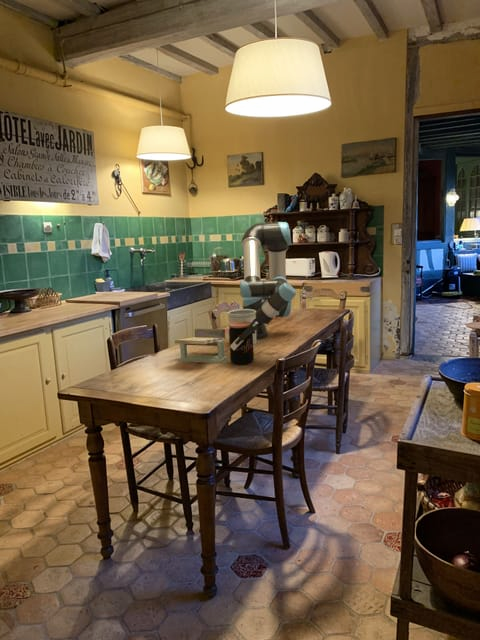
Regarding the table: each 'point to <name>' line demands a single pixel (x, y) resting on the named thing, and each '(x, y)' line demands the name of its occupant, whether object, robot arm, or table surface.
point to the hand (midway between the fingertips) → (236, 344)
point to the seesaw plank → (204, 337)
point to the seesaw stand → (203, 358)
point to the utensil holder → (243, 317)
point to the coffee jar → (245, 349)
